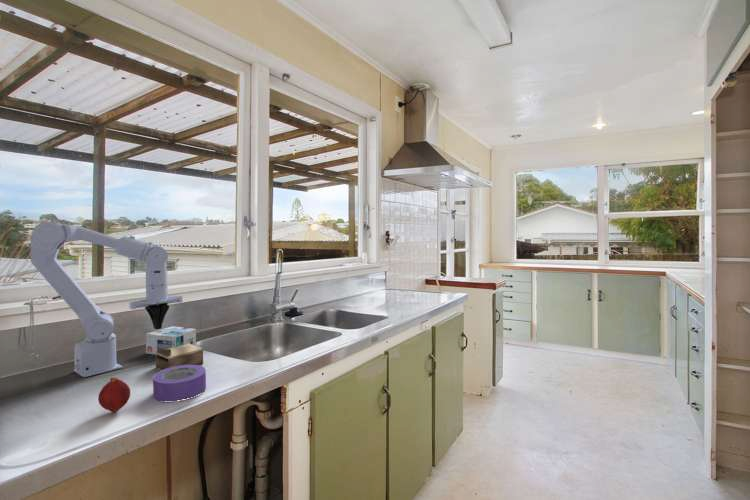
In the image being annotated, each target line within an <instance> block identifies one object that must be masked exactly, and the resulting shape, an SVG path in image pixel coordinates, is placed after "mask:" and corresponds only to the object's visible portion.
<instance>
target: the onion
mask: <svg viewBox="0 0 750 500" xmlns="http://www.w3.org/2000/svg"><path fill="white" fill-rule="evenodd" d="M109 380H110V381H107V383H106V384H105V385H103V387H102V388H101V390H100V392H99V393H98V397H97V399H98V400H97V401H98V404H99V406H101V408H103V409H104V410H107V411H109V412H111V413H116V412H119V410H121V409H122V408H123V407H125V405H126V404H127V403H128V401H129V399H130V398H131V388H130V386H129V385H128V384H127V383H126V382H125V381H124V380H121V379H119V378H118V377H116V376H112V377H111V378H109Z"/></svg>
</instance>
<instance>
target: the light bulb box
mask: <svg viewBox="0 0 750 500" xmlns="http://www.w3.org/2000/svg"><path fill="white" fill-rule="evenodd" d="M186 344H192V345H194V346H197V329H196V328H191V327H183V326H173V325H172V326H169V327H165V328H161V329H157V330H154V331H151V332H147V333H146V334H145V353H146V354H148V355H154V356H156V351H157V346H163V347H166V348H173V347H177V346H182V345H186Z"/></svg>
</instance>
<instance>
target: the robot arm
mask: <svg viewBox="0 0 750 500" xmlns="http://www.w3.org/2000/svg"><path fill="white" fill-rule="evenodd" d="M29 241H30V262H31V264H32V265H33V266H34V268H35V269H36V270H37V271H38V272H39V273H40V275H41V276H42V277H43V278H44V279H45V281H46V282H48V283H49V285H50V286H51V287H52V288H53V289H54V290H55V292H56V293H57V294H58V295H59V296H60V297H61V299H63V301H64V302H65V304H67V305H68V307H70V309H71V310H72V311H73V312H74V313H75V315H76V316H77V317H78V319H79V321H80V323H81V325H82V326H83V327H84V328H85V329H84V330H85V334H86V337H85V338H84V340H83V341H82V342H81V341H80V342H77V343H75V345H74V349H73V357H74V358H73V360H74V362H73V363H74V369H73V371H74V372H75V373H76V374H78V375H79V376H81V377H82V378H87V377H90V376H94V375H99V374H102V373H105V372H110V371H115V370H118V369H121V368H123V365H121V364H119V363H117V335H116V334H115V333H114V325H115V320H114V317H113V316H112V315H111V314H109V313H107V312H104V311H103V310H102V309H101V308H100V307H99V306H98V305H97V304H95V302H94V301H93V300H92V299H91V298H90V296H89V295H88V294H87V293H86V292H85V291H84V290H83V288H82V287H81V285H79V283H78V282H77V281H76V280H75V279H74V278H73V277H72V275H71V274H70V273H69V272H68V271H67V269H66V268H65V267H64V266H63V265H62V263H60V261H59V260H58V255H59V252H60V249H61V246H62V245H64V243H65V242H68V243H69V242H76V241H83V242H87V243H91V244H95V245H100V246H103V247H106V248H111V249H114V251H115V253H116V254H117V255H118V256H121V257H124V258H129V259H133V260H137V261H139V262H142V261H145V262H146V269H145V299H141V300H135V301H129V309H130V310H137V309H140V308H144V310H145V311H146V312H147V314H148V315H149V317H150V320H151V322H152V327H153V329H155V330H161V329H163V328H162V327H163V322H164V320H165V317H166V315H167V312H168V311H169V310H170V305H169V304H176V303H183V296H181V295H171V296H168V269H167V261H168V260H169V254H168V252H167V250H166V249H165V248H164V247H162V246H160V245H157V244H154V243H153V242H151V241H148V242H147V241H142V240H140V239H136V237H135V236H133V235H129V236H127V235H124V236H122V237H119V238H117V237H115V236H111V235H107V234H105V233H102V232H100V231H99V232H98V231H96V230H92V229H89V228H86V227H83V226H79V225H72V224H66V223H62V222H57V221H42V222H39V223H38V224H36V226H35V227H34V228H33V231H32V232H31V234H30V236H29Z"/></svg>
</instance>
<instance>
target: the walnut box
mask: <svg viewBox="0 0 750 500" xmlns="http://www.w3.org/2000/svg"><path fill="white" fill-rule="evenodd" d="M203 364H204V350H203V351H199V352H196V353H192V354H188V355H184V356H180V357H177V358H173V359H167V358H165V357H162V356H160V355H158V354H156V355H155V368H156V369H158V370H160V371H162V370H164V369H167V368H170V367H175V366H180V365H199V366H202V365H203Z"/></svg>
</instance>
